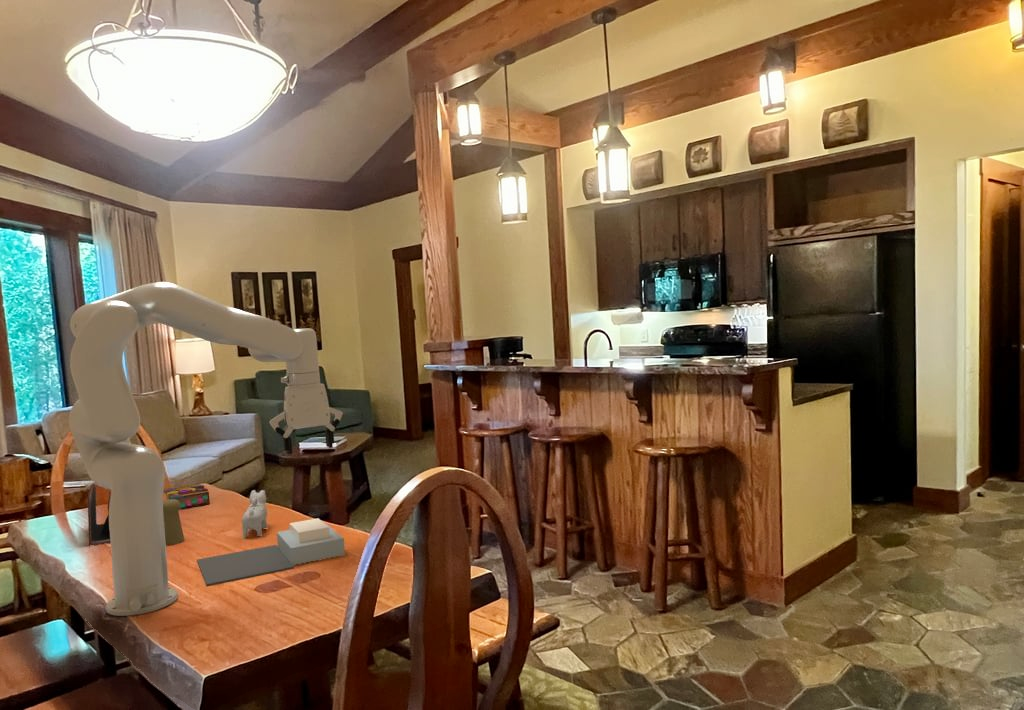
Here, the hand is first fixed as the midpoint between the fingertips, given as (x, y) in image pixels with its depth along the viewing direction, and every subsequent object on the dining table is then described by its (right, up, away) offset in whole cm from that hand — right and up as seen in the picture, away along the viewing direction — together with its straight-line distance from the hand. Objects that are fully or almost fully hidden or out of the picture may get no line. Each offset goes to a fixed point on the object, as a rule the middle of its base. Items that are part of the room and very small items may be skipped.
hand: (309, 450), depth 171 cm
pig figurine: (-20, -25, +18) cm, 36 cm away
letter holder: (-61, -27, +23) cm, 70 cm away
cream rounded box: (0, -20, -2) cm, 20 cm away
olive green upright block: (-39, -26, +12) cm, 49 cm away
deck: (+1, -24, -2) cm, 24 cm away
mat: (-12, -25, -9) cm, 29 cm away
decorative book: (-55, -25, +56) cm, 82 cm away
